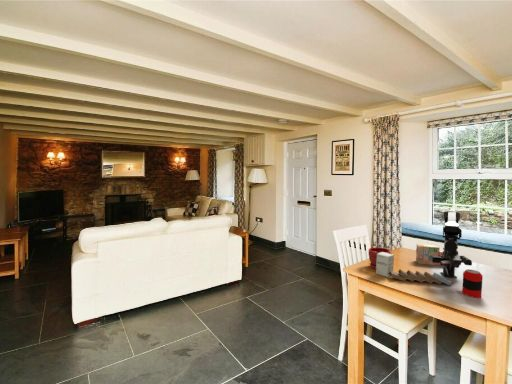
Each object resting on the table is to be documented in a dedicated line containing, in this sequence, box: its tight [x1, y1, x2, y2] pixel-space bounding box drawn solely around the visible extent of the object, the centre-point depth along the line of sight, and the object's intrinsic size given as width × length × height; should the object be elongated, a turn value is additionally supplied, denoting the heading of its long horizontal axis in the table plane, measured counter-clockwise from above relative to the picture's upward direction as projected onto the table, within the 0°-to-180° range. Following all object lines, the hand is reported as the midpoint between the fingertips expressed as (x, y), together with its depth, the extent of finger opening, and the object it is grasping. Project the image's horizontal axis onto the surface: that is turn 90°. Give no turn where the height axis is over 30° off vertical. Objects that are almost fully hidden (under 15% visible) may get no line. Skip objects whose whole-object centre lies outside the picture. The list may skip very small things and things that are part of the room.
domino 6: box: [432, 271, 452, 286], centre depth 148 cm, size 5×2×8 cm
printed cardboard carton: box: [415, 243, 444, 267], centre depth 181 cm, size 21×6×12 cm, turn 69°
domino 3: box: [405, 269, 425, 284], centre depth 152 cm, size 5×2×8 cm
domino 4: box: [414, 270, 434, 284], centre depth 150 cm, size 5×2×8 cm
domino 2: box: [397, 268, 415, 283], centre depth 153 cm, size 5×2×8 cm
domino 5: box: [423, 271, 443, 285], centre depth 149 cm, size 5×2×8 cm
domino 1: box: [389, 271, 407, 282], centre depth 154 cm, size 5×2×8 cm
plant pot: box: [368, 247, 392, 270], centre depth 173 cm, size 13×13×12 cm
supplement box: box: [375, 252, 395, 278], centre depth 161 cm, size 7×7×13 cm
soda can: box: [461, 269, 483, 299], centre depth 134 cm, size 8×8×12 cm
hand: (448, 275), depth 147 cm, fingers closed
